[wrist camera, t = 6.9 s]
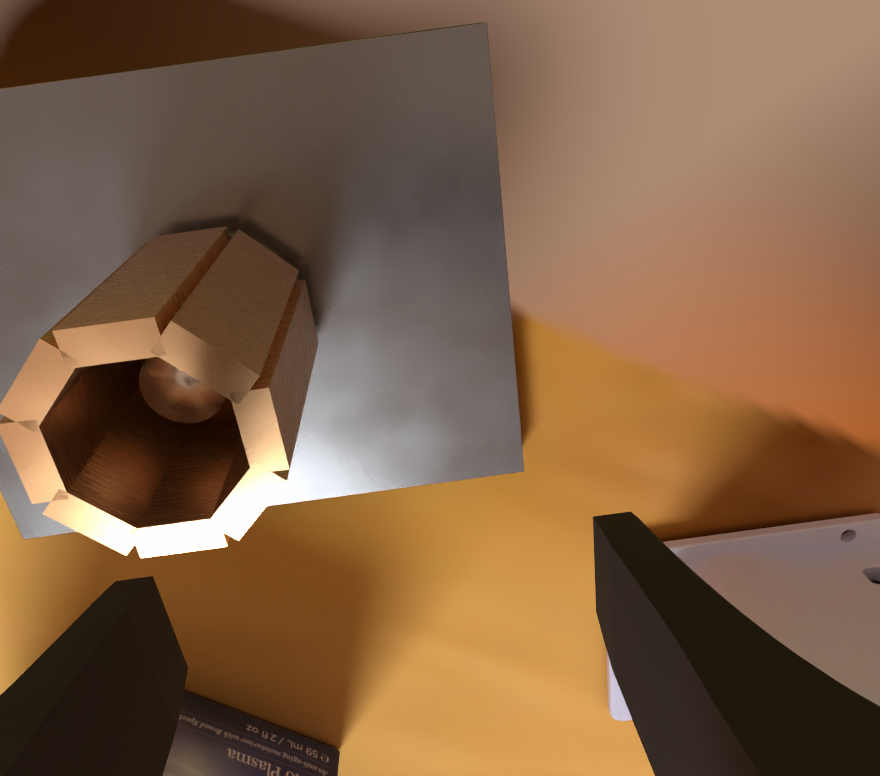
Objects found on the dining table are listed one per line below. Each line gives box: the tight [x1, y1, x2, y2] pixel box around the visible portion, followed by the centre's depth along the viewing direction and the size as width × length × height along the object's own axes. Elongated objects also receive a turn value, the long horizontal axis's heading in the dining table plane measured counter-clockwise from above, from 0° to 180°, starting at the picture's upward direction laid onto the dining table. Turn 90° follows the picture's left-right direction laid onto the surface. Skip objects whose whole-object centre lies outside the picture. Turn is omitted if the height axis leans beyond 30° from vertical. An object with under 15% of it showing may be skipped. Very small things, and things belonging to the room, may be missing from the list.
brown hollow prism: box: [0, 226, 319, 558], centre depth 16 cm, size 5×5×6 cm
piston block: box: [0, 23, 524, 539], centre depth 18 cm, size 15×12×5 cm
